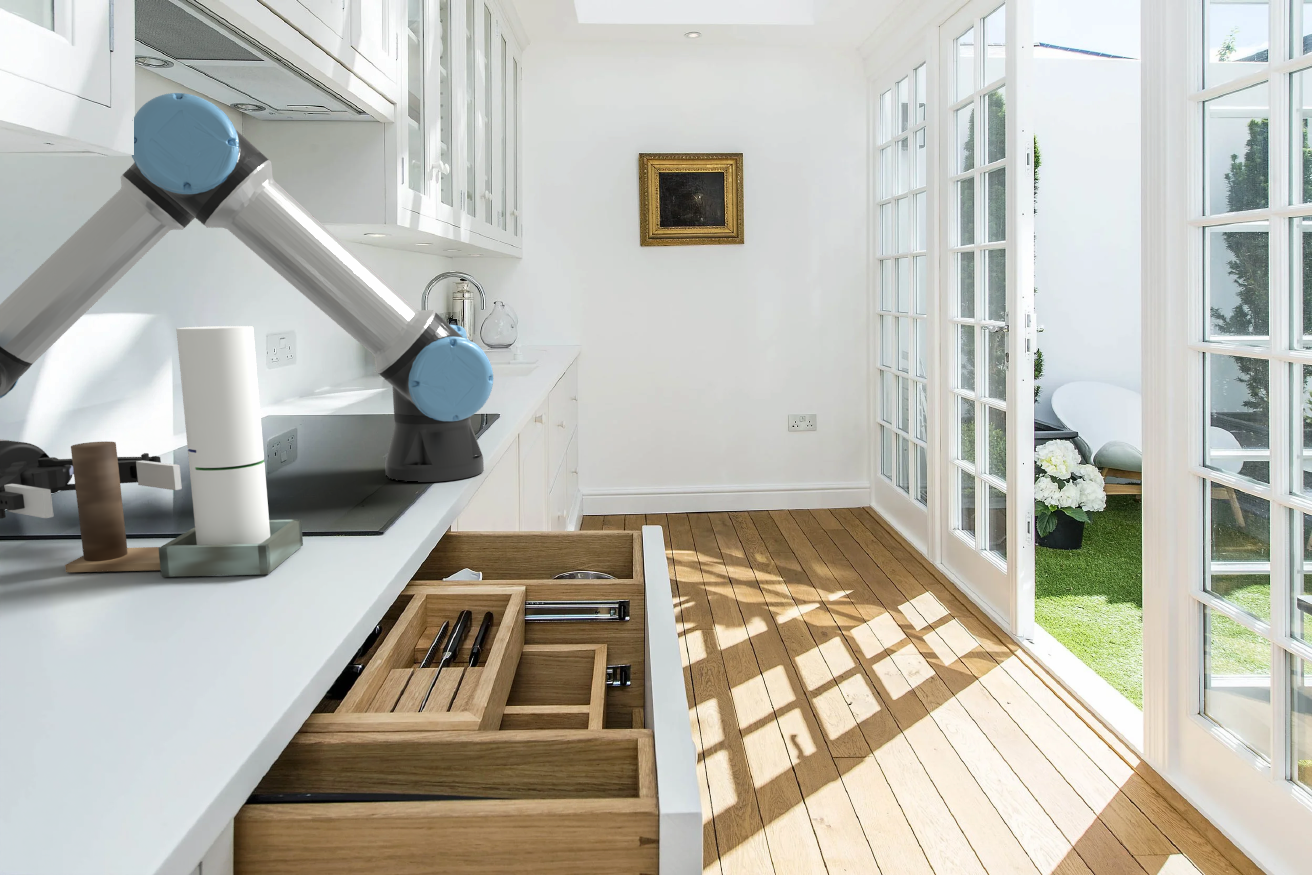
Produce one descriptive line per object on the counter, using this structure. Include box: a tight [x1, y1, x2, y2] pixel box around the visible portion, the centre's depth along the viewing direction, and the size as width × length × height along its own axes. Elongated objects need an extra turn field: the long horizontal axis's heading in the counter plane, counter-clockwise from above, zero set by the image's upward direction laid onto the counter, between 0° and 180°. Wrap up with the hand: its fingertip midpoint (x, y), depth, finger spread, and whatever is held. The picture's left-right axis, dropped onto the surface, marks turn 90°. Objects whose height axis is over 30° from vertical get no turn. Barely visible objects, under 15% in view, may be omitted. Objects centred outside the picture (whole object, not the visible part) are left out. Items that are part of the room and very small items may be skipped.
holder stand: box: [64, 440, 304, 578], centre depth 95 cm, size 21×11×13 cm, turn 93°
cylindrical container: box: [176, 325, 270, 545], centre depth 95 cm, size 7×7×25 cm
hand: (117, 489), depth 93 cm, fingers open, 13 cm apart
